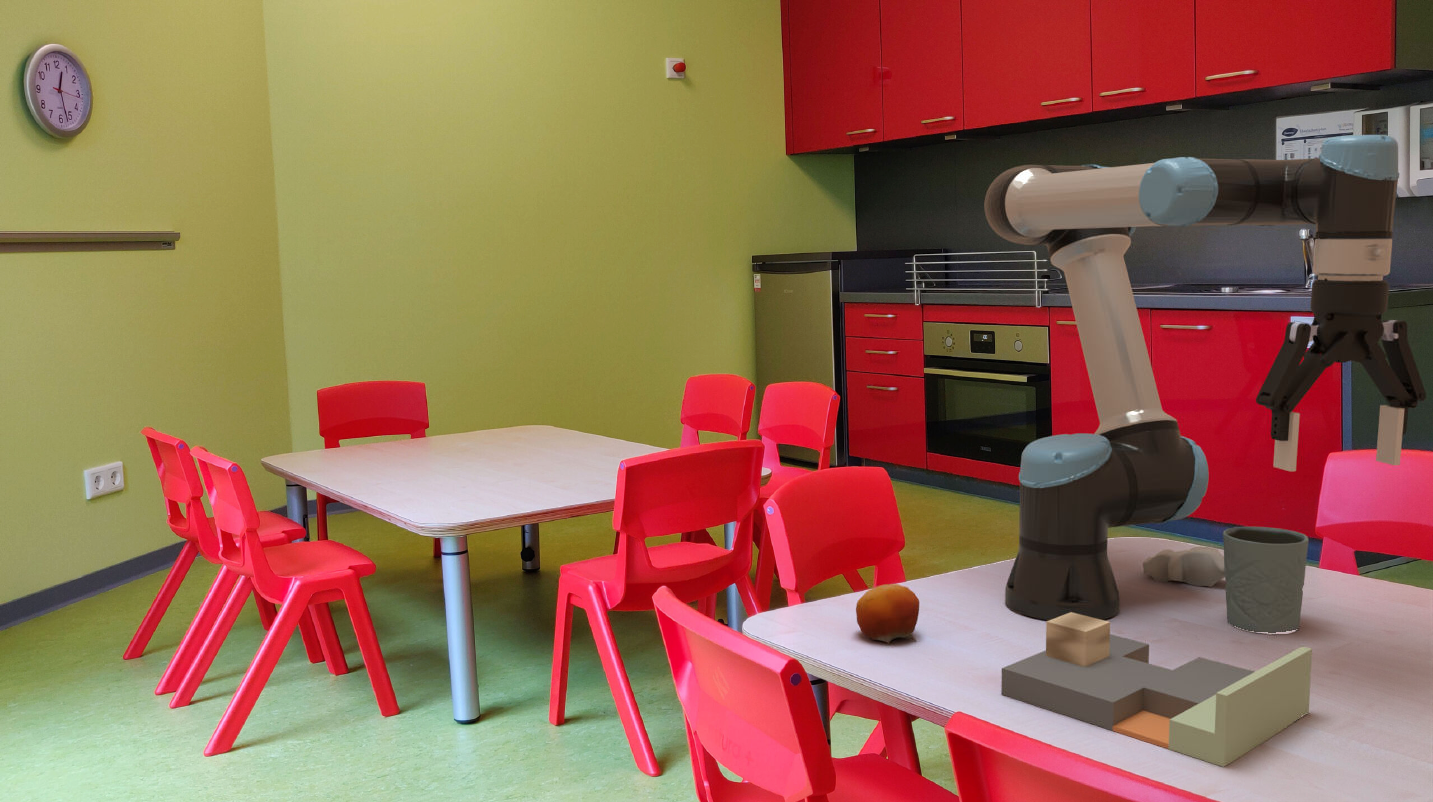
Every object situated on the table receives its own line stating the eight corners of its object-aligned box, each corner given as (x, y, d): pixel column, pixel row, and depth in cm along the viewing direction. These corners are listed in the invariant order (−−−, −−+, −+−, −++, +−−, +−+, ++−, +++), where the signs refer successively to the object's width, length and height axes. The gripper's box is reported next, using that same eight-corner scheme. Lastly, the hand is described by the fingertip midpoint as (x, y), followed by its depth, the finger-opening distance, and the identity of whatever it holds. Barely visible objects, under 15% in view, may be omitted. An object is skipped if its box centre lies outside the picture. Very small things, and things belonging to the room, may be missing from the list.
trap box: (1001, 694, 127) (1002, 633, 127) (1094, 654, 140) (1095, 598, 139) (1223, 766, 109) (1226, 695, 108) (1308, 713, 121) (1311, 648, 120)
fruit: (889, 643, 140) (870, 581, 143) (858, 659, 147) (840, 599, 150) (942, 633, 144) (922, 572, 147) (909, 649, 150) (890, 590, 153)
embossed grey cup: (1265, 641, 144) (1269, 547, 142) (1201, 618, 153) (1205, 530, 151) (1322, 629, 148) (1327, 538, 146) (1257, 608, 157) (1261, 522, 155)
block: (1045, 655, 131) (1046, 621, 130) (1070, 645, 134) (1071, 612, 134) (1085, 666, 127) (1086, 631, 127) (1109, 656, 130) (1110, 621, 130)
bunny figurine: (1152, 543, 177) (1258, 543, 169) (1155, 575, 178) (1261, 577, 169) (1137, 556, 169) (1247, 558, 161) (1140, 590, 170) (1250, 593, 161)
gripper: (1275, 281, 121) (1262, 478, 124) (1473, 277, 127) (1456, 466, 130) (1229, 278, 129) (1218, 464, 132) (1418, 275, 134) (1403, 454, 137)
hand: (1336, 466), depth 131 cm, fingers open, 13 cm apart
